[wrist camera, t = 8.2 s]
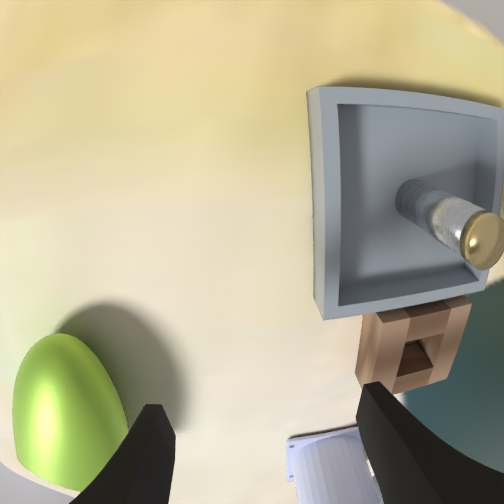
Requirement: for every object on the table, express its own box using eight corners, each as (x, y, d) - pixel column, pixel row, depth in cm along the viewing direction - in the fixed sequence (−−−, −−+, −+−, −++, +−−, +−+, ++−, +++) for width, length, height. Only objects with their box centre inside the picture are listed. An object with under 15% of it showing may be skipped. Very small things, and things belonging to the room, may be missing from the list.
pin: (427, 217, 17) (501, 266, 11) (394, 220, 17) (465, 274, 11) (429, 178, 16) (511, 214, 10) (395, 179, 16) (474, 217, 10)
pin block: (430, 355, 22) (446, 378, 20) (354, 373, 22) (366, 401, 20) (449, 282, 20) (472, 303, 17) (365, 296, 20) (382, 323, 17)
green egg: (107, 530, 18) (122, 427, 13) (4, 466, 18) (-37, 316, 13) (131, 478, 26) (169, 349, 20) (38, 425, 26) (33, 277, 20)
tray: (465, 273, 20) (484, 289, 17) (313, 297, 19) (323, 320, 17) (479, 106, 15) (504, 108, 13) (306, 91, 15) (318, 86, 12)
